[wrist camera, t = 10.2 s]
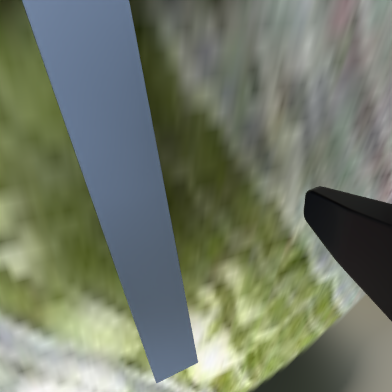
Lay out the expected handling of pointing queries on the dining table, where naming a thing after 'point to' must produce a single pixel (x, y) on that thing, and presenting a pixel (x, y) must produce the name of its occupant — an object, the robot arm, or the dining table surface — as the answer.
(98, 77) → the slate blue tapered plate
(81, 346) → the dining table surface
